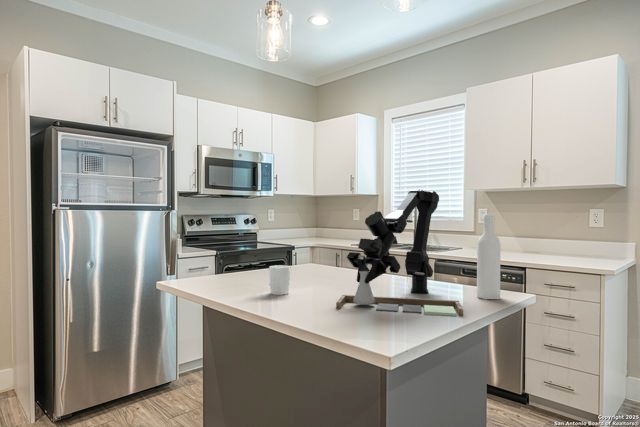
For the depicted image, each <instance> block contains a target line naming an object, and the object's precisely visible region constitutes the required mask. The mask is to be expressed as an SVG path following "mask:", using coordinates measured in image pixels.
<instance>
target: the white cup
mask: <svg viewBox="0 0 640 427" xmlns="http://www.w3.org/2000/svg"><path fill="white" fill-rule="evenodd" d="M268 267H269V268H268V270H269V271H268V272H269V273H268V275H269V290H270V292H269V293H270V294H271V295H274V296H284V294H285V295H287V294H289V292H290V280H291V266H290V265H285V264H283V265H282V264H279V265H277V264H275V265H270V266H268Z"/></svg>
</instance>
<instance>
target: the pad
mask: <svg viewBox="0 0 640 427" xmlns="http://www.w3.org/2000/svg"><path fill="white" fill-rule="evenodd" d="M423 312H424V315H432V316H451V317H456V316H457V311H456V308H454V307H453V306H434V305H424V306H423Z"/></svg>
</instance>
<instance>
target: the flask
mask: <svg viewBox="0 0 640 427" xmlns="http://www.w3.org/2000/svg"><path fill="white" fill-rule="evenodd" d="M369 271H370V270H369ZM369 271H359V273H360V282H358V285H357V289H356V292H355V294H354V296H355V297H354V300H353V301H354V302H353V303H355V304H360V305H361V304H362V305H366V304H367V305H368V304H369V305H371V304H372V305H373V304H375V303H374V302H375V299H374V297H375V295H374V294H373V292H372V291H373V290H372V288H371V285H370V282H369V283H367V284H366V283H365V279H366V277H367V275H368V273H369Z"/></svg>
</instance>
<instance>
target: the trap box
mask: <svg viewBox="0 0 640 427" xmlns="http://www.w3.org/2000/svg"><path fill="white" fill-rule="evenodd" d="M354 297H355V294H354V295H350V294H349V295H348V294H342V295H341V296H340V297H339V299H338V300H336V302H335V303H336V305H335V309H337V310H338V309H339V310H340V309H342V307H343V305H344V304H345V303H347V302H348V303H355V302H354V301H353V300H354ZM374 299H375V302H374V303H373V304H377V307H376V311H379V312H392V313H393V312H397V313H398V312H399V307H400V305H401V306H402V313H410V314H411V313H412V314H422V307H424V305H434V306H453V307H454V309H455V312H456V314H457V315H458V316H459V317H463V316H464V309H463V306H462V305H461V302H460V300H454V299H453V300H448V299H435V298H434V299H433V298H430V299H429V298H412V297H411V298H409V297H395V296H394V297H393V296H392V297H391V296H390V297H389V296H374Z"/></svg>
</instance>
